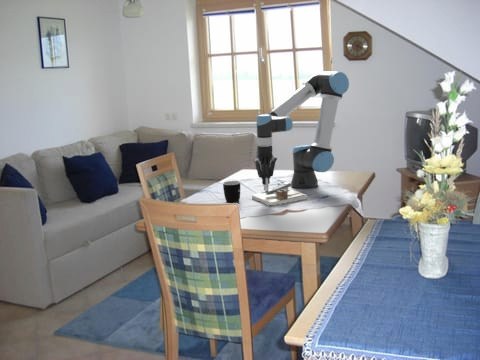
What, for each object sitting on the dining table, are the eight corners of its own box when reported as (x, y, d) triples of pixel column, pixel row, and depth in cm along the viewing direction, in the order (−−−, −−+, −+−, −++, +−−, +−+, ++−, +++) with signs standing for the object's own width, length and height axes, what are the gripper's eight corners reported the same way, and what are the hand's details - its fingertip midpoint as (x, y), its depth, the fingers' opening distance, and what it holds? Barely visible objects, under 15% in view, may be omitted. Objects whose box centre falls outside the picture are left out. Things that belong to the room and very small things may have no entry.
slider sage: (284, 188, 306) (283, 180, 305) (288, 190, 302) (288, 181, 301) (278, 190, 304) (277, 181, 303) (282, 191, 300) (281, 183, 299)
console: (287, 191, 308) (286, 184, 307) (307, 198, 291) (307, 190, 290) (252, 198, 298) (251, 190, 297) (271, 206, 281) (270, 198, 280)
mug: (241, 203, 290) (240, 184, 288) (223, 204, 290) (222, 185, 288) (241, 197, 301) (240, 179, 299) (224, 198, 302) (223, 180, 299)
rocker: (287, 184, 298) (287, 181, 298) (291, 185, 295) (290, 182, 295) (265, 193, 293) (264, 190, 292) (269, 194, 289) (268, 191, 289)
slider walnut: (283, 196, 289) (283, 188, 288) (287, 198, 286) (287, 189, 285) (276, 198, 288) (276, 189, 287) (281, 199, 284) (280, 191, 283)
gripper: (271, 143, 291) (272, 187, 296) (250, 145, 285) (251, 190, 291) (279, 144, 285) (280, 190, 290) (257, 147, 279) (259, 193, 284)
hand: (266, 190), depth 290 cm, fingers closed
